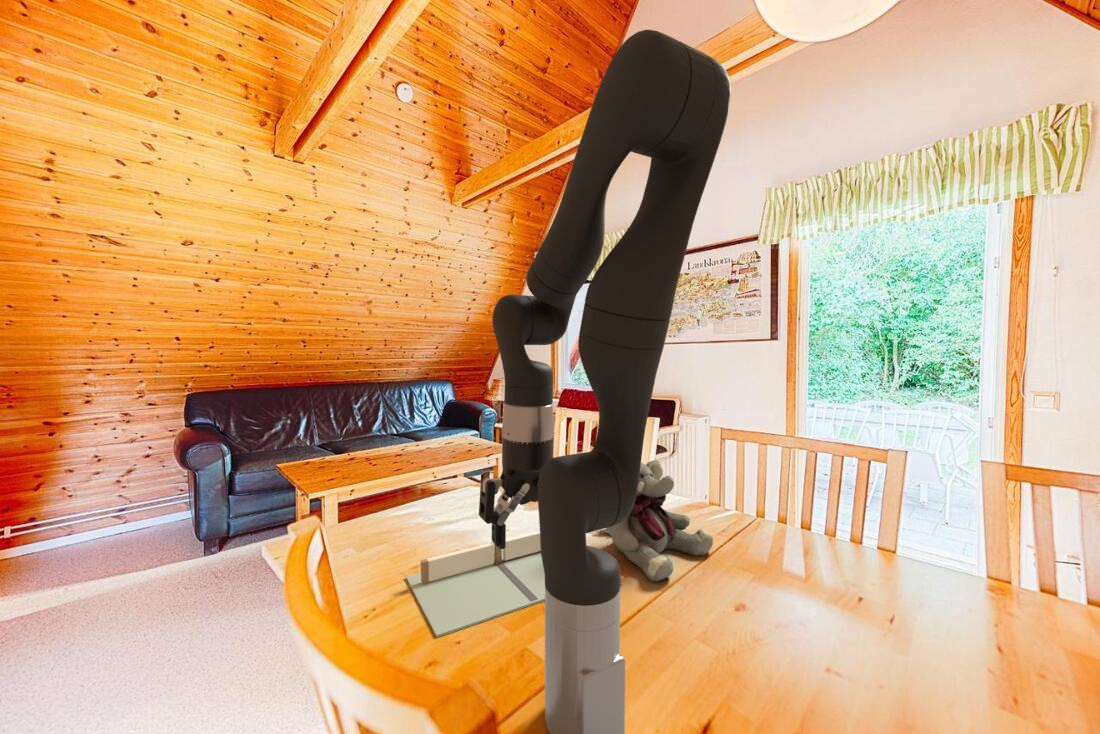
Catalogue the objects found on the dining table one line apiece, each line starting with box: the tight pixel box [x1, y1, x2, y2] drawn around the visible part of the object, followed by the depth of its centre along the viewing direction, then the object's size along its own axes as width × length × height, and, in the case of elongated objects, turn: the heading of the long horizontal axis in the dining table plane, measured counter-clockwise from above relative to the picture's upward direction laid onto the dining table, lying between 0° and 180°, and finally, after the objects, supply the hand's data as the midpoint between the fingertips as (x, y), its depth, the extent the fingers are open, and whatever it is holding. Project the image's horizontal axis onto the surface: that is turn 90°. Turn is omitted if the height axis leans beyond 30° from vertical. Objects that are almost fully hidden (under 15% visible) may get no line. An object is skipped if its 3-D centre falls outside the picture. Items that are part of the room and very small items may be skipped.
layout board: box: [405, 550, 545, 638], centre depth 88 cm, size 21×33×1 cm, turn 121°
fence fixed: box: [493, 530, 541, 564], centre depth 97 cm, size 2×16×6 cm, turn 121°
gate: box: [420, 542, 494, 583], centre depth 89 cm, size 15×1×4 cm, turn 121°
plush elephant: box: [600, 459, 714, 582], centre depth 101 cm, size 27×22×21 cm
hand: (526, 540), depth 66 cm, fingers open, 8 cm apart
